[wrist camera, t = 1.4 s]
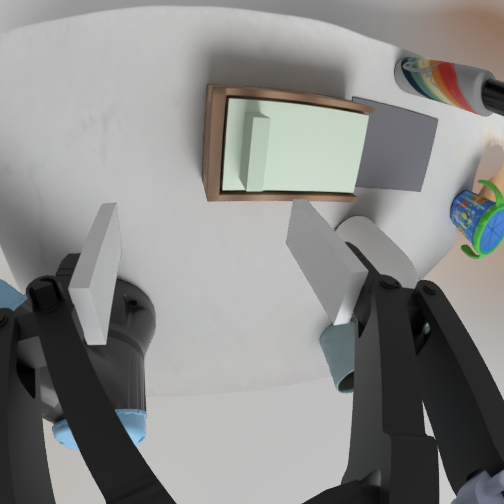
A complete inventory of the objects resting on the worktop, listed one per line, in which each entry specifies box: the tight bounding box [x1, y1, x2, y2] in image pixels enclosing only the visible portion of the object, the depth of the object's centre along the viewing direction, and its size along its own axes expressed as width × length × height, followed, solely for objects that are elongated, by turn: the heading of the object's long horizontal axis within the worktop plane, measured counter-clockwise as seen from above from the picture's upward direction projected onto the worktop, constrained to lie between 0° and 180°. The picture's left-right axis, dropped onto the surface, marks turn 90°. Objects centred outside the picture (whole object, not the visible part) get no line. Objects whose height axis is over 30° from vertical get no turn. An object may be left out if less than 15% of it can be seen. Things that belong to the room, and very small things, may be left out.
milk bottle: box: [335, 216, 428, 327], centre depth 41 cm, size 8×8×20 cm
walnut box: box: [202, 84, 375, 202], centre depth 35 cm, size 18×12×7 cm, turn 84°
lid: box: [221, 98, 369, 193], centre depth 31 cm, size 16×10×5 cm, turn 84°
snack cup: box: [450, 180, 504, 259], centre depth 48 cm, size 16×10×10 cm
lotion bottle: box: [395, 57, 504, 116], centre depth 28 cm, size 6×6×20 cm
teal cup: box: [320, 320, 355, 393], centre depth 58 cm, size 10×10×12 cm
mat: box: [352, 97, 438, 192], centre depth 42 cm, size 17×13×1 cm
